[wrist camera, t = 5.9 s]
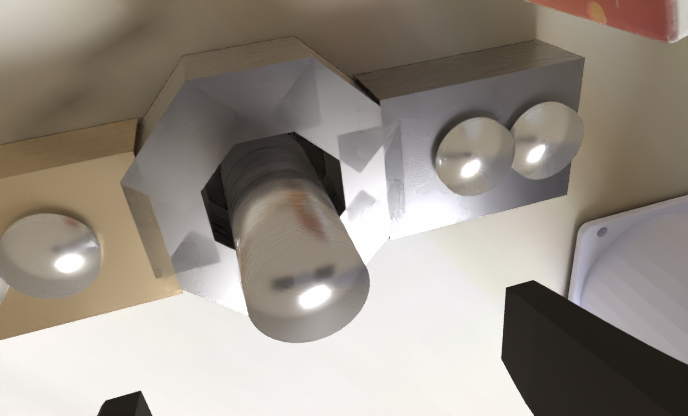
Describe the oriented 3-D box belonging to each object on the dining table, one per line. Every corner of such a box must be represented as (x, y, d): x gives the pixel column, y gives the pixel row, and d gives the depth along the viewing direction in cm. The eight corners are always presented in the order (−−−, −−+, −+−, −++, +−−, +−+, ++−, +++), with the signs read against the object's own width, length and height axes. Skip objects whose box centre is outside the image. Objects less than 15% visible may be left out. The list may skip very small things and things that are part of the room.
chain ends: (541, -9, 18) (600, 6, 16) (524, 198, 22) (568, 236, 20) (-139, 113, 14) (-204, 158, 12) (-4, 332, 19) (-30, 399, 16)
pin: (306, 125, 18) (372, 233, 12) (308, 202, 20) (367, 331, 14) (216, 133, 17) (241, 251, 12) (225, 212, 19) (250, 353, 13)
